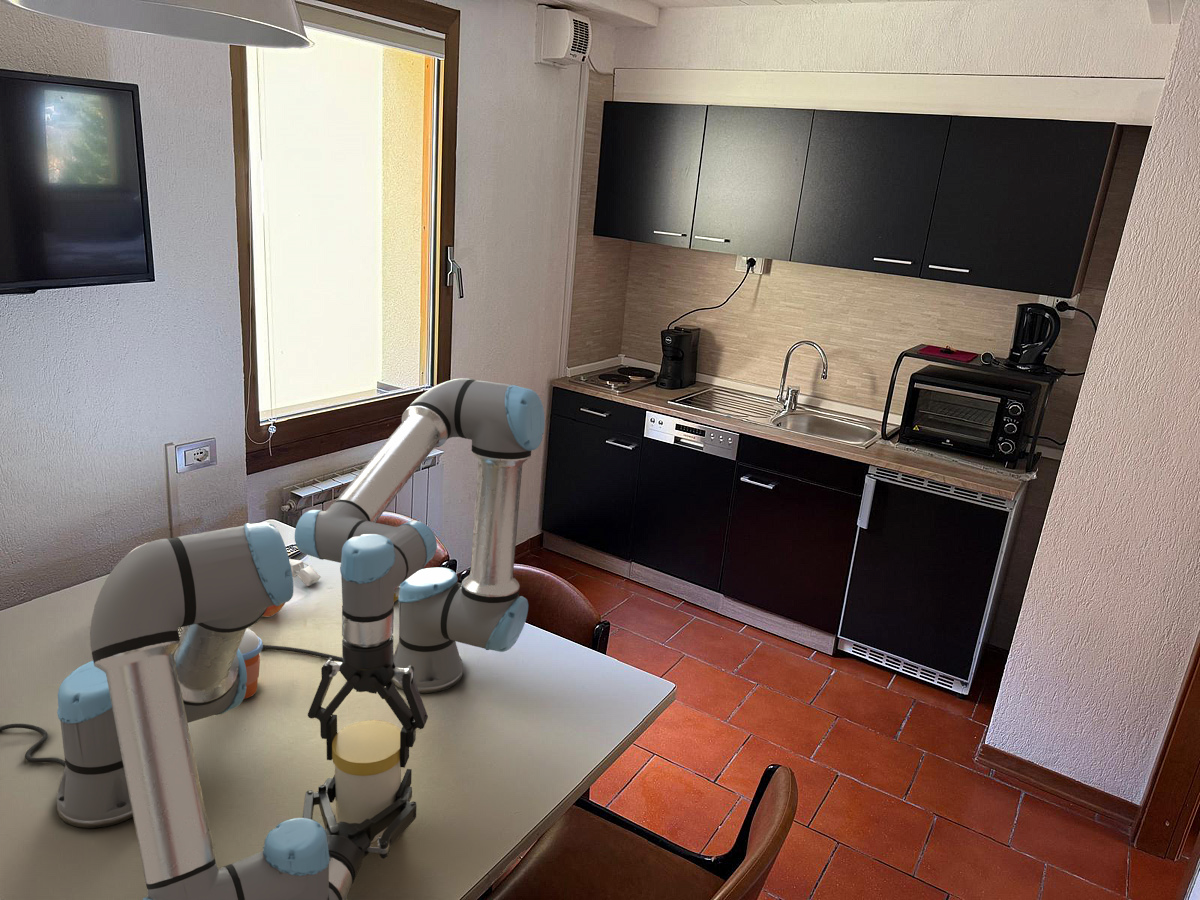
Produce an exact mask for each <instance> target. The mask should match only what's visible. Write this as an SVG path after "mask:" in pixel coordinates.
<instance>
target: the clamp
mask: <svg viewBox="0 0 1200 900" xmlns="http://www.w3.org/2000/svg"><path fill="white" fill-rule="evenodd" d="M289 561H290V565H291V570H292V577H293V578H296V577H298V578H299V579H300V580H301V582H303V584H304V585H305V587H309V586H312V585H314V584H316V583H318V582H319V580H320V579H321V578H322V577H321V575H320V574H319V573H318V572H317V570H315V569H314V568H313V566H312V565H310V564H309V565H308V564H307V563H305V562H304V561H303V560H301V559H300V560H299V559H292V558H289ZM305 566H306V567H305Z"/></svg>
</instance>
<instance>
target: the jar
mask: <svg viewBox="0 0 1200 900" xmlns="http://www.w3.org/2000/svg"><path fill="white" fill-rule="evenodd" d="M334 775H335V799H334V801H335V803H334V804H335V806H334V807H335V819H336V822H337V823H339V822H340V821H341V822H347V823H359V824H360V823H362V822H363V821H364V820H366V819H371V818H373V817H374V816H375V815H377V814H378V813H380V812H381V811H383V810H384V809H385V808H387V807H388V806H390V805H391V804H393V803H394V802H395V801H396V793H397V791H398V789H399V787H400V784H401V782H402V767H400V761H399V762H398V763H397V764H396V765H395V766H394V767H392V768H391V769H389V770H387V771H385V772H382V773H379V774H375V775H369V776H356V775H351V774H347V773H345V772H343V771H341V770H340V769H338V768H337V767H336V766H335V765H334ZM386 829H387V828H386ZM386 829H384V830H383V831H382V832H380V833H379V834H377V835H376V836H375V837H374V839H373V841H371V842H375V841H376V840H377V839H378V836H380V835H381V836H382V834H383V832H384V831H385V830H386Z"/></svg>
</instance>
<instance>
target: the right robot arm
mask: <svg viewBox="0 0 1200 900" xmlns="http://www.w3.org/2000/svg"><path fill="white" fill-rule="evenodd" d="M545 416H546V415H545V409H544V405H543V401H542V400H541V397H540V396H539V394H538V393H537V392H536V391H534V390H533V389H531V388H527V387H523V386H518V385H517V384H508V383H502V382H494V381H486V380H480V379H479V380H477V379H473V378H467V377H461V378H455V379H450V380H447V381H444V382H441V383H439V384H437V385H435V386H433V387H431V388H430V389H428V390H426V391H424V392H423V393H422V394H420V395H419V396H417V397H416V398H415V399H414V401H412V402H411V403H410V404H409V405H408V407H407V408H406V409H405V410H404V411H403V413H402V415H401V423H400V424H399V425H398V426H397V428H396V429H395V430H394V431H393V433H391V435H390V436H389V437H388V439H386V440H385V442H384V443H383V444H382V445H381V447H380V448H378V450H377V451H376V452H375V454H374V455H373V456H372V457H371V458H370V459H369V461H367V463H366V464H365V465H364V466H363V468H362V469H360V471H359V472H358V474H357V475H356V476H355V477H353V479H352V481H350V483H349V484H348V485H347V486H346V488H345V489H344V490H343V491H342V492H341V493H340V494H339V496H338V497H337V498H336V499H335V500H334V502H333V503H332V504H331V505H330V506H329V507H328V508H327V509H326V510H322V509H311V510H308V511H305V512H304V513H303V514H302V515H301V516H300V517H299V519H298V521H297V523H296V526H295V530H294V543H295V546H296V548H297V550H298V551H299V552H300V553H302V554H304V555H306V556H307V555H308V556H310V557H314V558H316V559H319V560H322V561H324V560H325V561H331V562H335V563H339V564H340V566H339V567H340V568H339V571H340V576H341V577H340V578H341V602H342V605H341V637H342V639H341V645H342V646H341V649H342V651H341V652H342V654H341V655H342V657H341V656H338V655H333V654H329V653H325V652H324V653H323V652H320V651H315V650H310V649H303V648H299V647H290V646H283V645H282V646H281V645H271V644H263V648H262V650H267V651H269V650H270V651H281V652H290V653H297V654H304V655H307V656H314V657H318V658H322V659H326V661H325V662H324V664H323V665H322V666H321V669H320V670H321V673H320V674H321V679H320V682H319V685H318V687H317V689H316V691H315V695H314V697H313V699H312V702H311V705H310V707H309V710H308V712H307V717H308V718H309V719H317V721H319V722H320V725H319V726H320V739H322V740H326V760H327V761H333V759H332V742H333V739H334V737H335V735H336V734H337V733H338V715H337V714H335V712H336V710H337V709H338V708H339V706H341V705H342V703H343V702H344V700H345V699H346V698H347V697H348V696H349V695H350V694H351V693H352V691H353V690H354V691H355V692H356V693H364V692H365V693H366V692H367V693H370V694H378V695H379V697H380V698H381V699H382V700H384V701H385V702H386V704H387V705H388V706H389V708H390V709H391V711H392V712H393V714H394V715H395V716H396V718H397V719H398V721H399V723H400V724H401V725H402V727H401V728H400V730H401V732H400V767H401V768H406V766H407V763H408V761H409V758H410V748H413V747H414V744H415V742H416V740H417V729H418V730H423V729H424V728H425V727H426V724H427V722H428V719H429V716H428V713H427V710H426V707H425V703H424V701H423V699H422V695H421V694H430V693H431V694H432V693H438V692H441V691H445V690H447V689H450V688H451V687H453V686H455V685H456V684H457V683H458V682H459V681H460V680H461V679H462V676H463V672H464V664H463V660H462V657H461V656H460V653H459V649H458V646H457V643H461V644H465V645H469V646H473V647H477V648H479V649H484V650H485V651H495V652H500V653H503V652H507V651H509V650H510V649H511V648H513V647H514V645H515V644H516V643H517V641H518V640H519V637H520V635H521V633H522V631H523V629H524V627H525V624H526V621H527V617H528V612H529V601H528V599H527V598H526V597H524V596H523V595H520V587H521V586H520V582H519V581H518V580H517V579H516V578H515V577H514V569H515V558H516V557H515V556H516V544H517V534H518V533H517V532H518V521H519V512H520V511H519V510H520V497H521V486H522V485H521V484H522V475H523V464H524V463H525V462H527V460H529V459H530V458H531V457H532V452H533V451H535V450H537V449H538V448H539V447H540V445H541V444H542V441H543V435H544V434H545V425H546V422H545V421H546V420H545V419H546V418H545ZM452 438H461V439H467V440H471V450H470V451H471V454H472V455H473V456H474V457H475V458H476V459H477V462H478V463H477V475H476V489H475V502H474V518H473V531H472V544H471V556H470V558H471V559H470V572H469V574H468V575H467V576H466V577H464V579H462V581H461V582H458V580H459V579H458V575H457V573H456V572H455V571H454V570H453V569H450V568H448V567H427V568H424V567H426V565H427V564H428V563H429V562H430V561H432V559H433V558H434V557H435V555H436V553H437V547H438V543H437V542H438V541H437V538H436V534H435V533H434V532H433V530H432V528H430V527H429V526H428V525H427V524H426V523H425V522H421V521H418V520H410V521H407V522H405V523H402V524H399V525H398V526H394V525H388V524H383V523H379V522H377V521H378V520H379V518H380V517H381V516H382V515H383V514H384V512H385V511H386V509H388V507H389V506H390V504H391V503H392V502H393V501H394V499H396V497H397V496H398V494H399V493H400V492H401V491H402V489H403V488H404V486H406V484H407V483H408V481H409V480H410V479H411V478H412V477H413V475H414V474H415V473H416V472H417V470H418V469H419V468H420V466H421V465H422V464H423V463H424V461H425V460H426V458H428V457H429V455H430V454H431V453H432V452H433V450H434V449H436V448H440V447H442V446H443V445H444V444H445V443H446V442H447V441H448V440H449V439H452ZM399 585H400V586H399ZM397 586H399V587H400V592H399V598H398V600H397V601H398V643H397V645H396V648H395V651H394V617H395V616H394V614H395V612H394V610H395V609H394V603H395V602H394V589H395V588H396V587H397ZM338 672H340V674H341V676H342V677H343V678H344V679H345V681H346V682H345V683H344V684H343V685H342V687H341V688H340V689H339V691H338V692H337V693H336V695H335V696H334V697H333V698H332V699H331V701H330V702H329V703H328V705H327V706H326V707H323V703H324V701H325V698H326V695H327V693H328V691H329V688H330V685H331V683H332V680H333V678H334V677H336V676H337V674H338ZM396 687H398V688H399V689H401V690H402V691H403V694H404V696H405V699H406V701H405V699H404V697H403V696H402V695H401V693H400V692H399V691H398V689H397V688H396Z"/></svg>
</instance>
